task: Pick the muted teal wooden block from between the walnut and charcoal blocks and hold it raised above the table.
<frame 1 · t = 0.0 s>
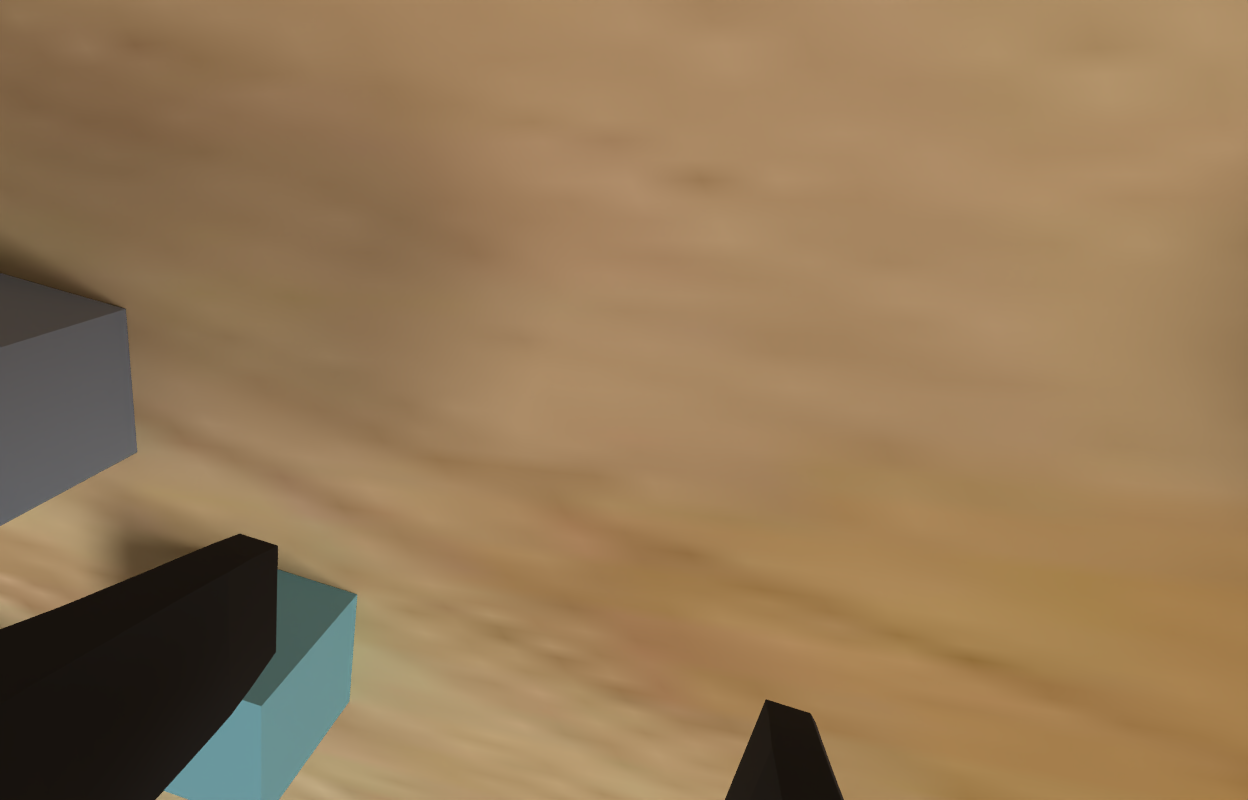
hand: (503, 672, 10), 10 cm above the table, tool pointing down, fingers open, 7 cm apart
teal block: (289, 627, 25), on the table
charcoal block: (63, 362, 23), on the table
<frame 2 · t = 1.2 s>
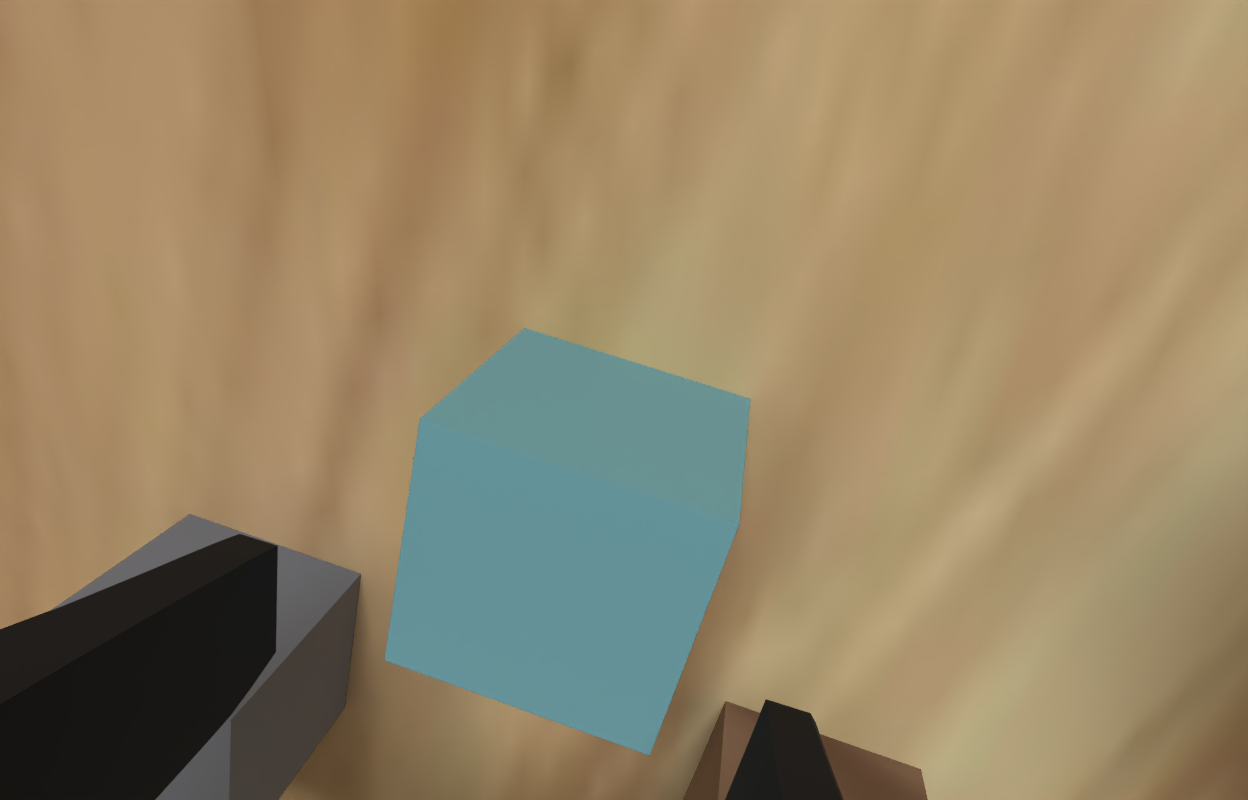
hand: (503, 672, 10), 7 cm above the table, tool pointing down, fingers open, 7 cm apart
teal block: (608, 461, 16), on the table
charcoal block: (272, 612, 20), on the table
walnut block: (788, 796, 19), on the table
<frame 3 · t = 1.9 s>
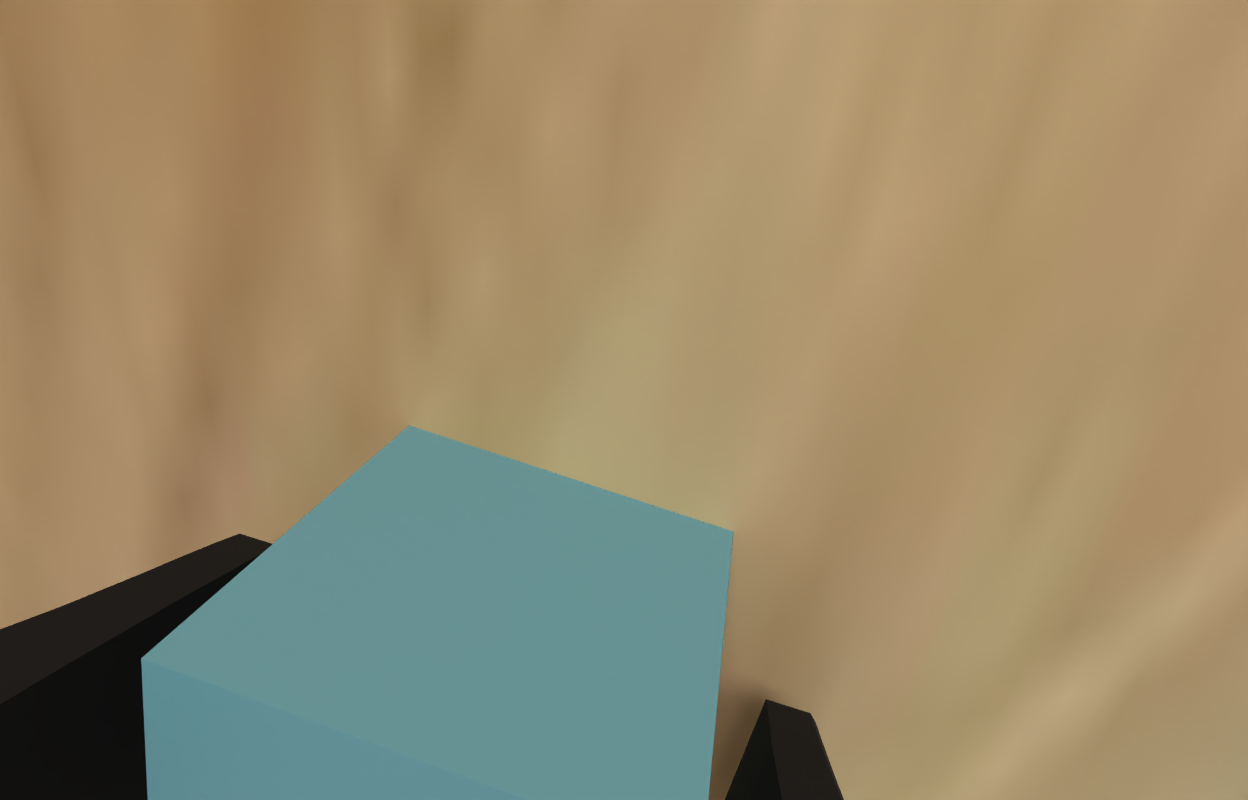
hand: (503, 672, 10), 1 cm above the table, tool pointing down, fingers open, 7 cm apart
teal block: (536, 604, 11), on the table
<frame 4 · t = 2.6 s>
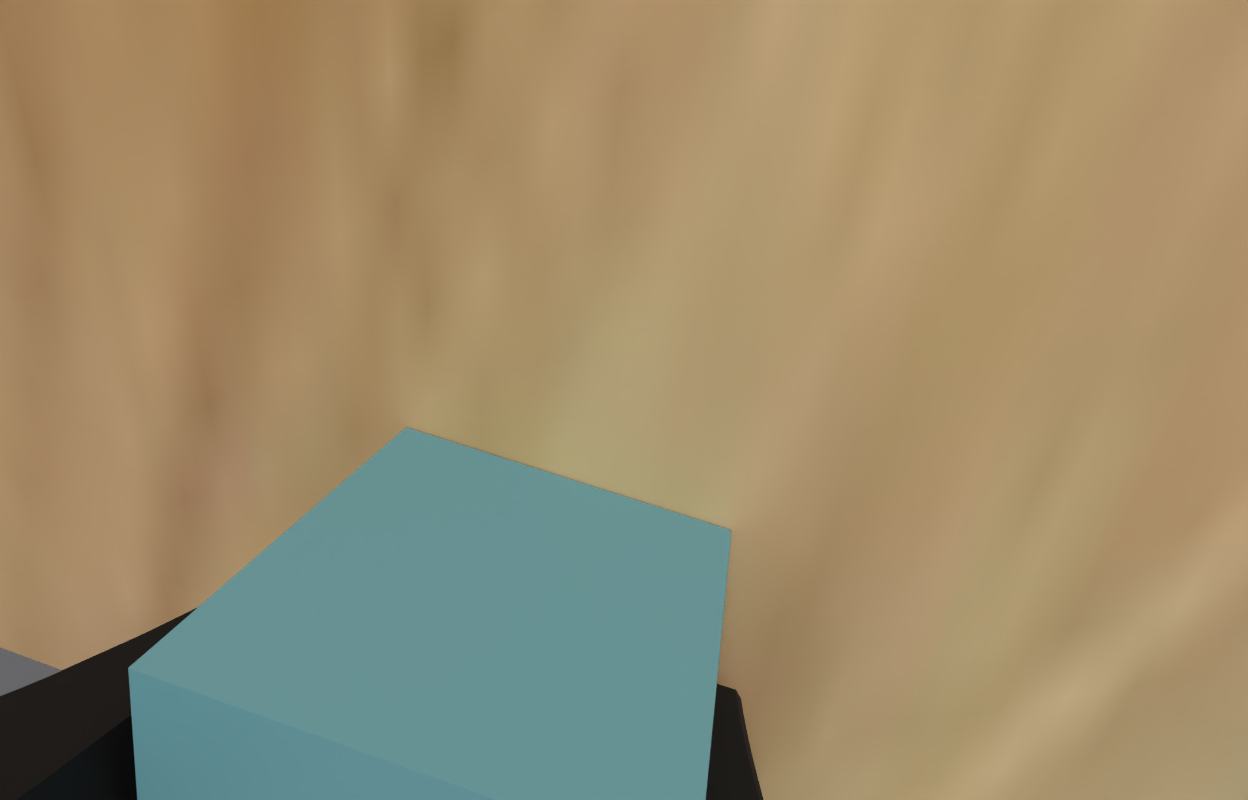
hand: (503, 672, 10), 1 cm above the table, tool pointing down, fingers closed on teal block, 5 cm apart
teal block: (534, 608, 11), on the table, touching gripper
charcoal block: (115, 766, 15), on the table
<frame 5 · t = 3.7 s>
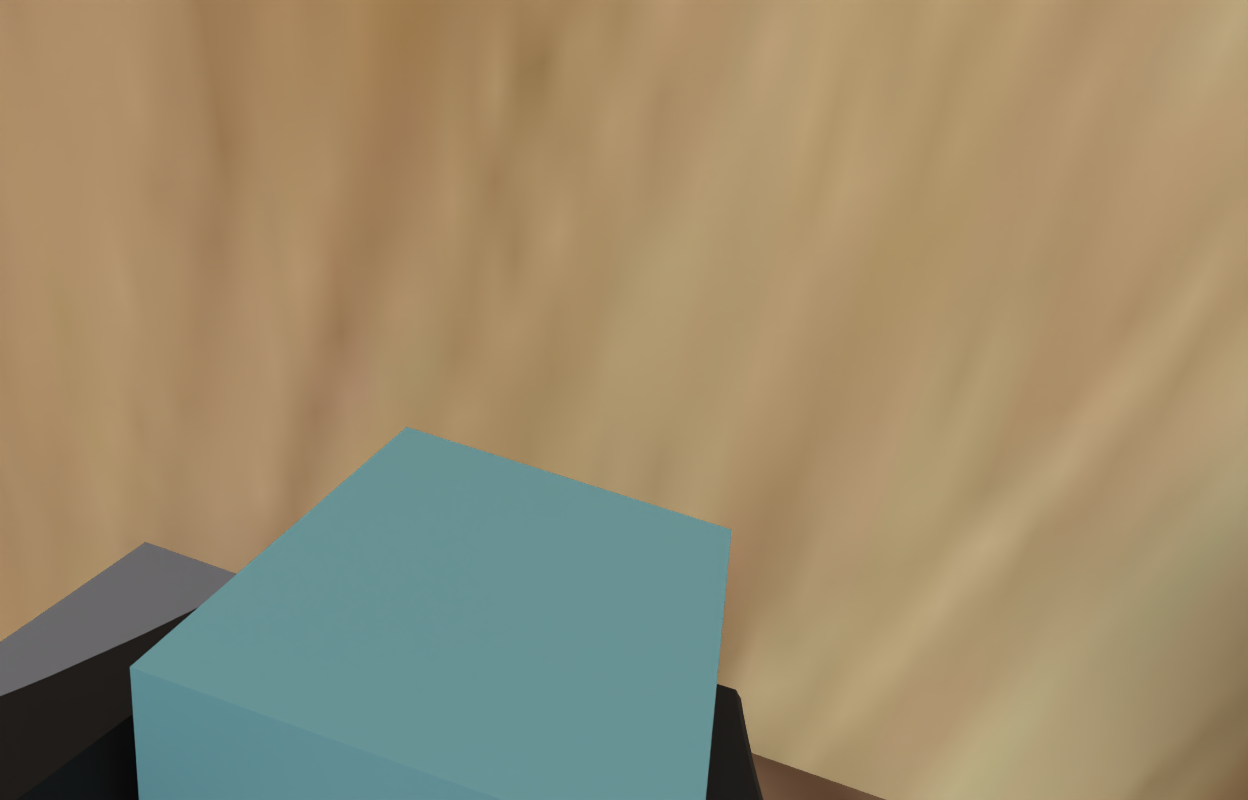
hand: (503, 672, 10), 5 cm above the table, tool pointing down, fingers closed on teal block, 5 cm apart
teal block: (534, 608, 11), point 4 cm above the table, touching gripper
charcoal block: (235, 645, 19), on the table
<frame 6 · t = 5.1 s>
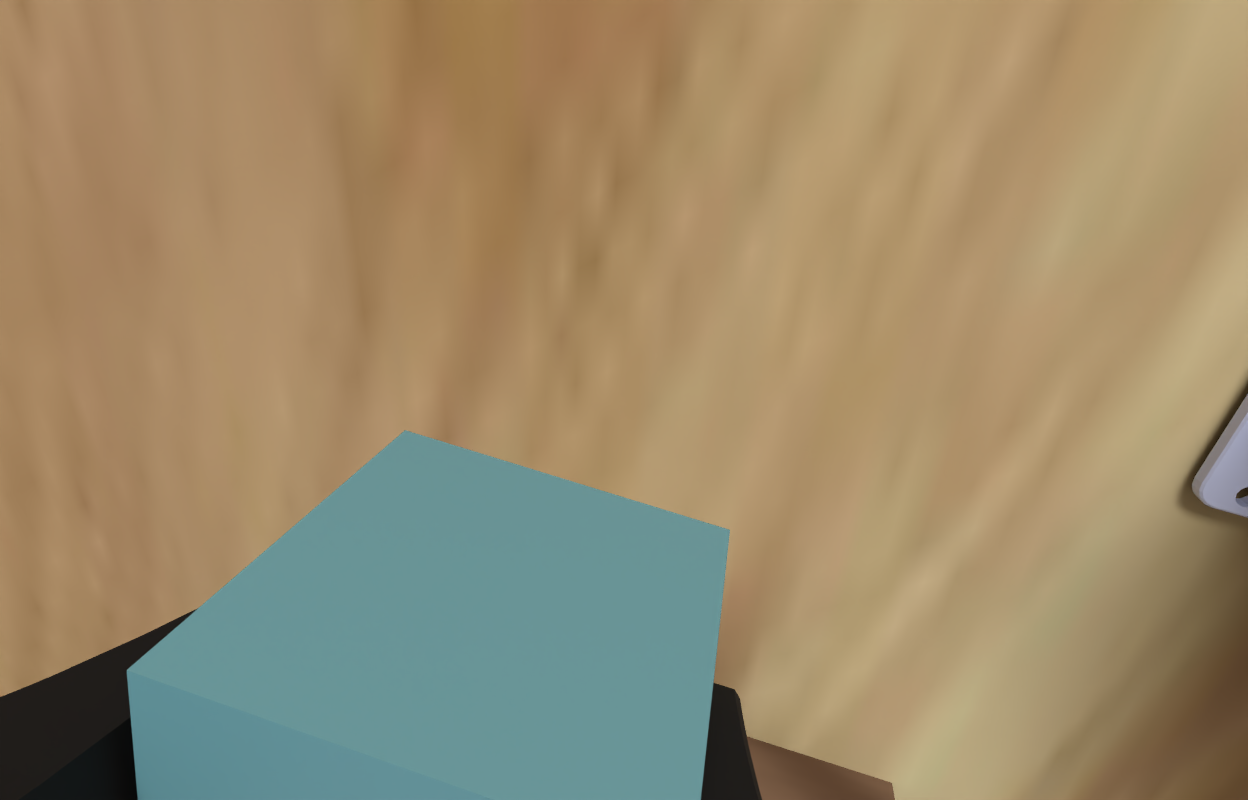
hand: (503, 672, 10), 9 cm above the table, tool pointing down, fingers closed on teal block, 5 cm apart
teal block: (534, 610, 11), point 8 cm above the table, touching gripper
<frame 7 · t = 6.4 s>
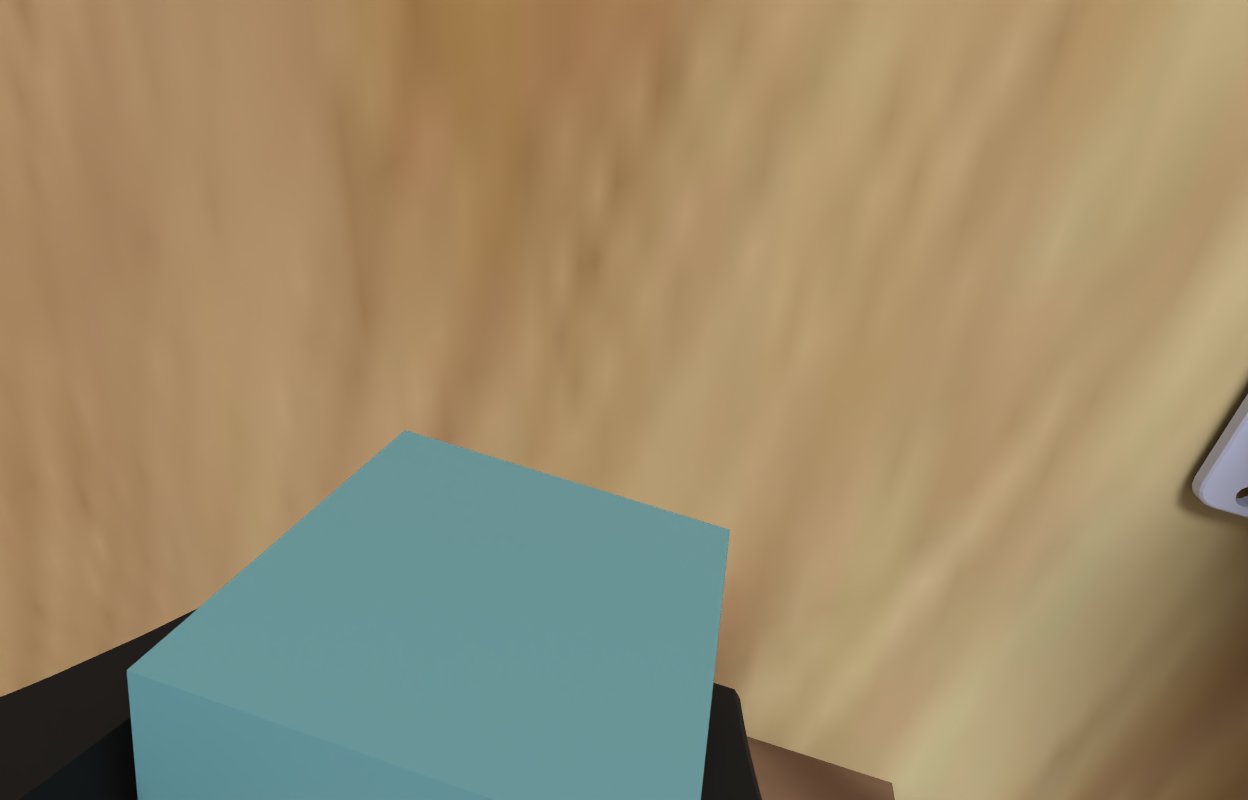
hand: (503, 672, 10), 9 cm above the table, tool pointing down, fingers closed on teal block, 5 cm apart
teal block: (534, 610, 11), point 8 cm above the table, touching gripper
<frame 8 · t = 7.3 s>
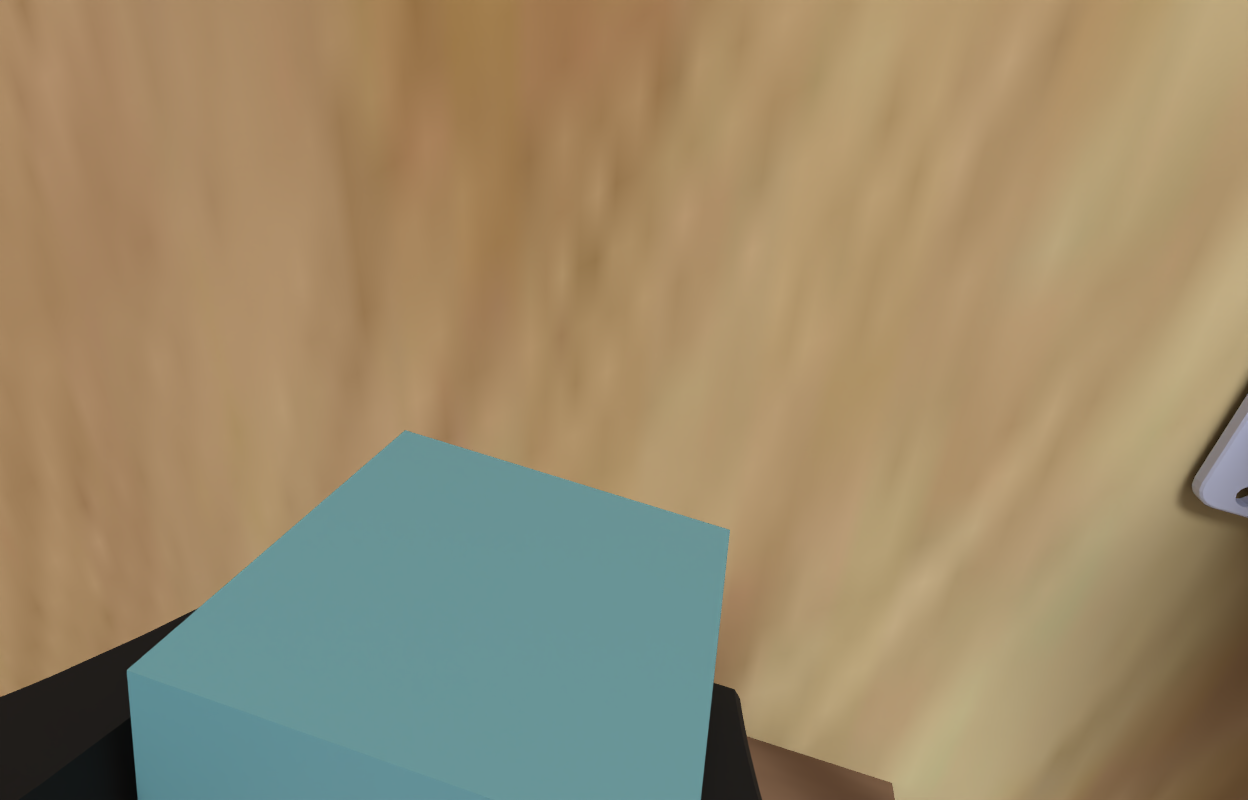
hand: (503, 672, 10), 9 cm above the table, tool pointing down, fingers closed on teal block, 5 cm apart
teal block: (534, 610, 11), point 8 cm above the table, touching gripper
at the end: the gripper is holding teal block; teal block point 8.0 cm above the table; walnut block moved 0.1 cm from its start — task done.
